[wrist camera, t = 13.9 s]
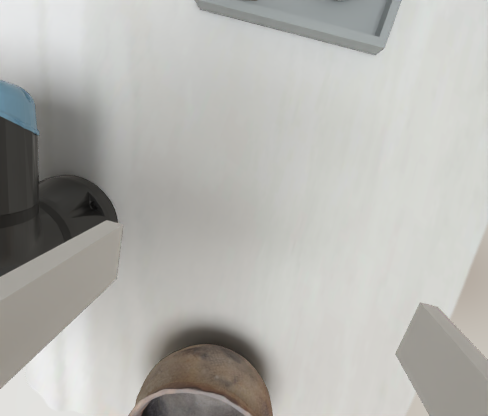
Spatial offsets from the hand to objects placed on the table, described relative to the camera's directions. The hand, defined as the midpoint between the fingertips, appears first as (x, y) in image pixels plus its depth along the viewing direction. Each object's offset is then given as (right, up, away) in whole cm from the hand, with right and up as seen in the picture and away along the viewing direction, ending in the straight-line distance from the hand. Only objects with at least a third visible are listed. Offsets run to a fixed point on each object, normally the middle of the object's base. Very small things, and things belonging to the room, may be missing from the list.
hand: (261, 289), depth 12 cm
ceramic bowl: (-6, -27, +41) cm, 49 cm away
